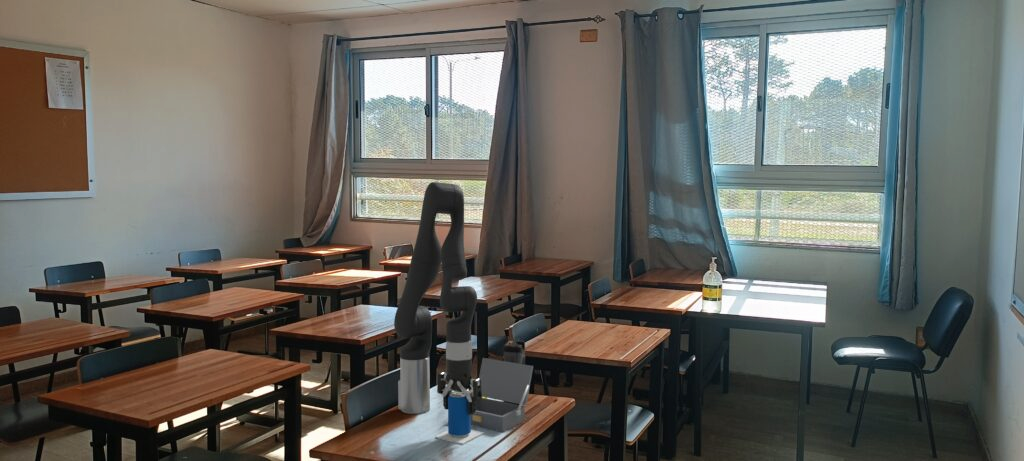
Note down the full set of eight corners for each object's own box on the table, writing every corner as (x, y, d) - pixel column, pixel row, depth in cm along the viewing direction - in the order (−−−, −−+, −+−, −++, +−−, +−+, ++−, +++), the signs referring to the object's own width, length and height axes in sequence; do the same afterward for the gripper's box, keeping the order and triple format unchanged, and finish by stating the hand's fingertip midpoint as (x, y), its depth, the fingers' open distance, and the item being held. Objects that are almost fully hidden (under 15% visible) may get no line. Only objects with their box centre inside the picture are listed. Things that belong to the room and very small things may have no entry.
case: (451, 421, 219) (451, 369, 218) (484, 406, 233) (484, 357, 232) (504, 433, 209) (504, 378, 207) (535, 416, 223) (535, 365, 222)
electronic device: (520, 407, 232) (520, 346, 230) (502, 406, 233) (502, 346, 232) (525, 399, 241) (525, 340, 240) (508, 398, 242) (508, 339, 241)
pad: (435, 437, 205) (435, 436, 205) (456, 427, 214) (456, 426, 214) (463, 444, 200) (463, 443, 200) (483, 433, 208) (483, 432, 208)
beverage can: (474, 431, 209) (473, 391, 208) (465, 439, 203) (465, 398, 202) (453, 429, 211) (453, 389, 210) (444, 436, 205) (444, 395, 204)
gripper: (431, 355, 206) (431, 410, 207) (471, 362, 198) (471, 419, 199) (447, 350, 212) (447, 403, 213) (486, 356, 204) (487, 412, 206)
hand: (459, 411), depth 206 cm, fingers open, 8 cm apart
